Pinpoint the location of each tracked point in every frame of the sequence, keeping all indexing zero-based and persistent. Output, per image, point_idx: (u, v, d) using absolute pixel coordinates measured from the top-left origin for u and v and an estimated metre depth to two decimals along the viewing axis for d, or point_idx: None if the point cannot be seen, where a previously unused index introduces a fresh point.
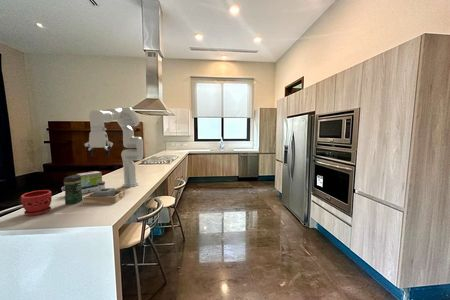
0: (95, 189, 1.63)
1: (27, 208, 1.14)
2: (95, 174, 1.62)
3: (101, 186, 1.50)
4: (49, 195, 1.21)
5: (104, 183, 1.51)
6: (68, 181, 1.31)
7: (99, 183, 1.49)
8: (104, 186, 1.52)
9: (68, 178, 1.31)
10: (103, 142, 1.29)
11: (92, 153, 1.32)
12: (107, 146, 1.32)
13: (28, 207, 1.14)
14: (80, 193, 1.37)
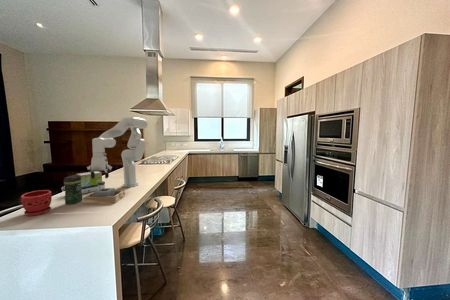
0: (95, 189, 1.63)
1: (27, 208, 1.14)
2: (95, 174, 1.62)
3: (101, 186, 1.50)
4: (49, 195, 1.21)
5: (104, 183, 1.51)
6: (68, 181, 1.31)
7: (99, 183, 1.49)
8: (104, 186, 1.52)
9: (68, 178, 1.31)
10: (103, 166, 1.48)
11: (93, 175, 1.50)
12: (107, 169, 1.51)
13: (28, 207, 1.14)
14: (80, 193, 1.37)
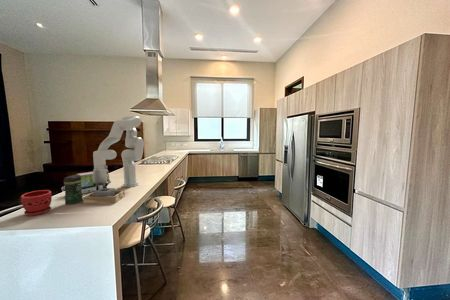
0: (95, 189, 1.63)
1: (27, 208, 1.14)
2: None
3: (101, 186, 1.50)
4: (49, 195, 1.21)
5: None
6: (68, 181, 1.31)
7: (99, 183, 1.49)
8: None
9: (68, 178, 1.31)
10: (105, 178, 1.49)
11: None
12: (106, 183, 1.52)
13: (28, 207, 1.14)
14: (80, 193, 1.37)
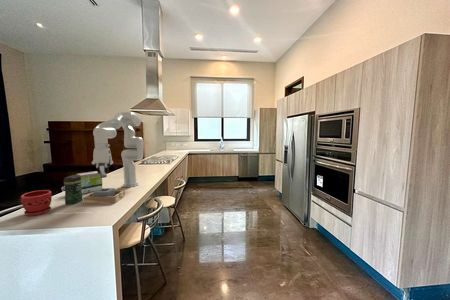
0: (95, 189, 1.63)
1: (27, 208, 1.14)
2: (95, 174, 1.62)
3: (102, 167, 1.36)
4: (49, 195, 1.21)
5: None
6: (68, 181, 1.31)
7: (100, 163, 1.35)
8: None
9: (68, 178, 1.31)
10: (106, 158, 1.35)
11: None
12: (108, 163, 1.39)
13: (28, 207, 1.14)
14: (80, 193, 1.37)
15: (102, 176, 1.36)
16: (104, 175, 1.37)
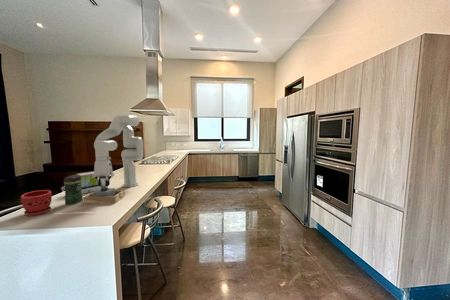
0: (95, 189, 1.63)
1: (27, 208, 1.14)
2: None
3: (103, 179, 1.37)
4: (49, 195, 1.21)
5: None
6: (68, 181, 1.31)
7: (101, 176, 1.36)
8: None
9: (68, 178, 1.31)
10: (107, 171, 1.36)
11: None
12: (109, 176, 1.39)
13: (28, 207, 1.14)
14: (80, 193, 1.37)
15: (103, 189, 1.37)
16: (105, 188, 1.37)
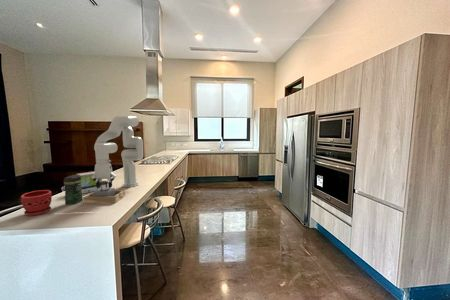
0: (95, 189, 1.63)
1: (27, 208, 1.14)
2: None
3: (104, 186, 1.37)
4: (49, 195, 1.21)
5: (107, 182, 1.39)
6: (68, 181, 1.31)
7: (102, 182, 1.36)
8: (107, 186, 1.39)
9: (68, 178, 1.31)
10: (108, 174, 1.36)
11: (99, 184, 1.39)
12: (110, 178, 1.39)
13: (28, 207, 1.14)
14: (80, 193, 1.37)
15: None
16: None
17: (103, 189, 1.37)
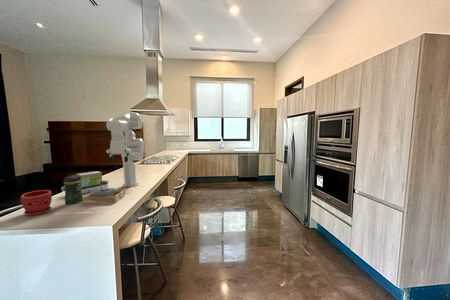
0: (95, 189, 1.63)
1: (27, 208, 1.14)
2: (95, 174, 1.62)
3: (104, 186, 1.37)
4: (49, 195, 1.21)
5: (107, 182, 1.39)
6: (68, 181, 1.31)
7: (102, 182, 1.36)
8: (107, 186, 1.39)
9: (68, 178, 1.31)
10: (122, 149, 1.44)
11: (113, 159, 1.47)
12: (126, 153, 1.48)
13: (28, 207, 1.14)
14: (80, 193, 1.37)
15: None
16: None
17: (103, 189, 1.37)
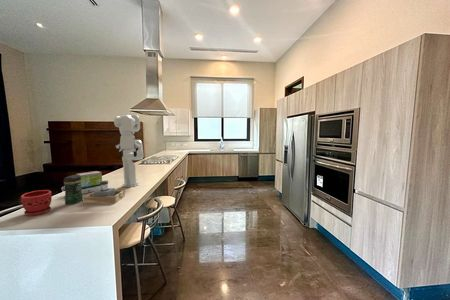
0: (95, 189, 1.63)
1: (27, 208, 1.14)
2: (95, 174, 1.62)
3: (104, 186, 1.37)
4: (49, 195, 1.21)
5: (107, 182, 1.39)
6: (68, 181, 1.31)
7: (102, 182, 1.36)
8: (107, 186, 1.39)
9: (68, 178, 1.31)
10: (132, 144, 1.50)
11: (122, 154, 1.52)
12: (135, 148, 1.53)
13: (28, 207, 1.14)
14: (80, 193, 1.37)
15: None
16: None
17: (103, 189, 1.37)
